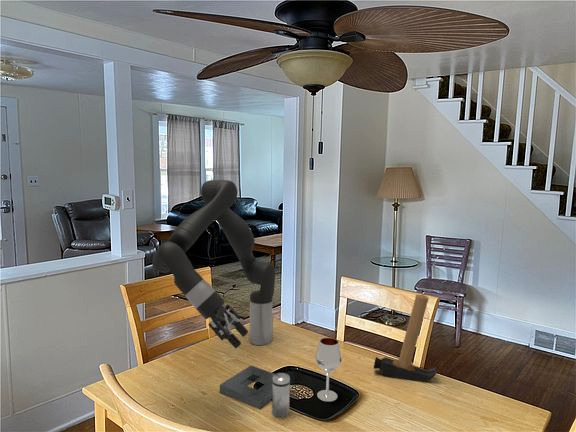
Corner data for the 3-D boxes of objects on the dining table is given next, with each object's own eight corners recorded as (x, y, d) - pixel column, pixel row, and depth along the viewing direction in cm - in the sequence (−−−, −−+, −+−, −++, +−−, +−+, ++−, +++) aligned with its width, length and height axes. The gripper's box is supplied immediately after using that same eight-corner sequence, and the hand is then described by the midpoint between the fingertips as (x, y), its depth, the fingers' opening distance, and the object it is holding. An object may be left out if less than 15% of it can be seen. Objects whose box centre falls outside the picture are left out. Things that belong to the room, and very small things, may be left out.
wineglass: (323, 405, 126) (325, 349, 124) (309, 392, 133) (311, 338, 131) (345, 399, 129) (347, 344, 127) (330, 386, 137) (332, 334, 135)
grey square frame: (250, 372, 145) (250, 365, 145) (289, 386, 136) (289, 378, 136) (219, 392, 132) (219, 384, 131) (259, 409, 123) (260, 401, 123)
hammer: (430, 382, 146) (453, 302, 141) (432, 389, 141) (455, 307, 136) (373, 364, 150) (393, 286, 145) (373, 371, 145) (394, 290, 140)
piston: (278, 405, 125) (279, 371, 124) (292, 411, 122) (293, 376, 121) (268, 414, 121) (268, 378, 120) (282, 420, 118) (283, 383, 117)
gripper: (205, 297, 113) (245, 341, 113) (221, 284, 127) (256, 323, 127) (187, 315, 115) (226, 358, 114) (204, 299, 129) (239, 338, 128)
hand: (242, 339), depth 121 cm, fingers open, 8 cm apart
